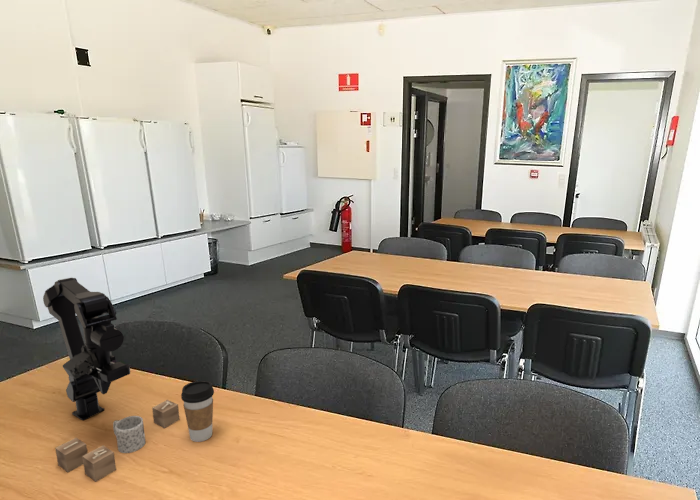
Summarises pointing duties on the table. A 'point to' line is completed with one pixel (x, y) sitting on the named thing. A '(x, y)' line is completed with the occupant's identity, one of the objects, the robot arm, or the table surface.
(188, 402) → the coffee cup
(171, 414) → the brown and beige block
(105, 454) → the walnut block four
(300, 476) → the table surface
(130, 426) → the mug
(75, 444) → the walnut block one
